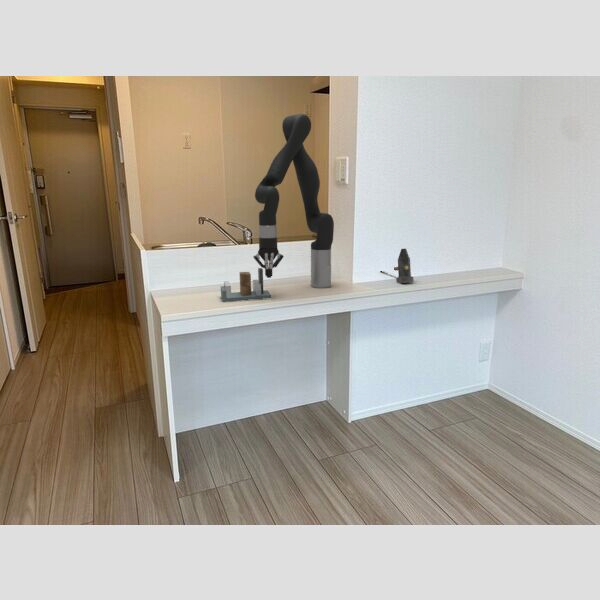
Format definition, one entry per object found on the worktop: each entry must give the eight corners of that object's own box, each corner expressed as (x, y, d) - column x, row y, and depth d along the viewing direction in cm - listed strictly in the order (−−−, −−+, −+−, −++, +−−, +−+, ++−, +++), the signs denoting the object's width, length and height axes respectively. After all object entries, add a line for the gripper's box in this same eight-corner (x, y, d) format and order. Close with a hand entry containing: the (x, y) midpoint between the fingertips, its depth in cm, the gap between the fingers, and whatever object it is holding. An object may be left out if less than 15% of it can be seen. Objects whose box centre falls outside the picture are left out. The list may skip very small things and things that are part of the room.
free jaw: (261, 290, 201) (260, 266, 199) (264, 295, 193) (264, 270, 190) (253, 290, 200) (252, 267, 198) (256, 295, 192) (255, 271, 189)
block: (249, 292, 198) (249, 271, 196) (251, 295, 193) (250, 274, 191) (240, 293, 197) (239, 272, 195) (241, 295, 192) (240, 274, 190)
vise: (267, 293, 202) (267, 278, 201) (271, 298, 194) (271, 283, 192) (221, 296, 198) (220, 281, 196) (223, 302, 189) (222, 286, 187)
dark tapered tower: (385, 252, 246) (411, 247, 217) (387, 282, 247) (413, 282, 218) (374, 253, 245) (400, 248, 216) (376, 283, 245) (401, 282, 216)
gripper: (253, 237, 186) (254, 280, 191) (285, 236, 189) (286, 278, 194) (250, 235, 193) (251, 276, 198) (281, 234, 197) (282, 274, 201)
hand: (268, 277), depth 196 cm, fingers closed
